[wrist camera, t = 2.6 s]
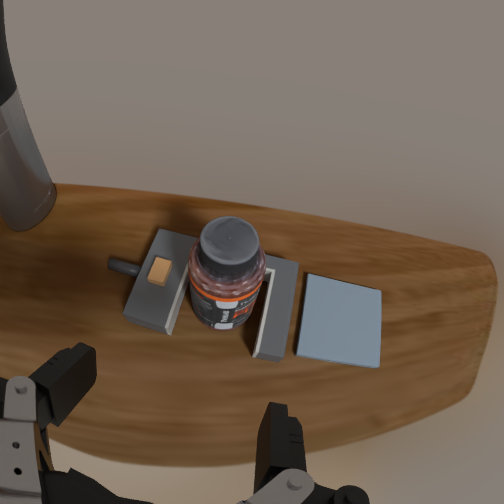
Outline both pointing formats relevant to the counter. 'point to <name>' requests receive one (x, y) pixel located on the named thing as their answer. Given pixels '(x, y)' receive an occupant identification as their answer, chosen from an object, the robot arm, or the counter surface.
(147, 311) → the grey c-shaped bracket
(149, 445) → the counter surface
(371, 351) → the coaster
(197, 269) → the supplement bottle
